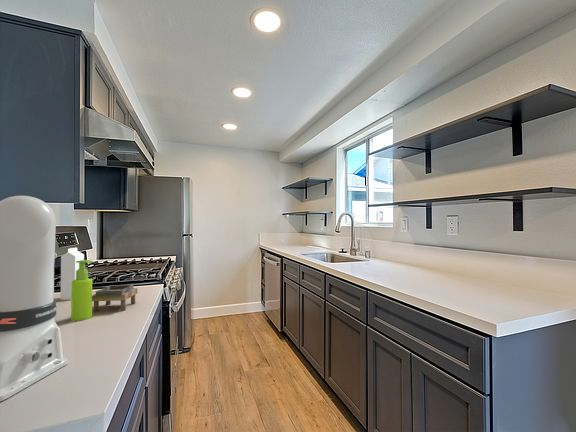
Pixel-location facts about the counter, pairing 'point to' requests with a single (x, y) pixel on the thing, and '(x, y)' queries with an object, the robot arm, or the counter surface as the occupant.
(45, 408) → the counter surface
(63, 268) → the milk
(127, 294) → the stool
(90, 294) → the soap dispenser
